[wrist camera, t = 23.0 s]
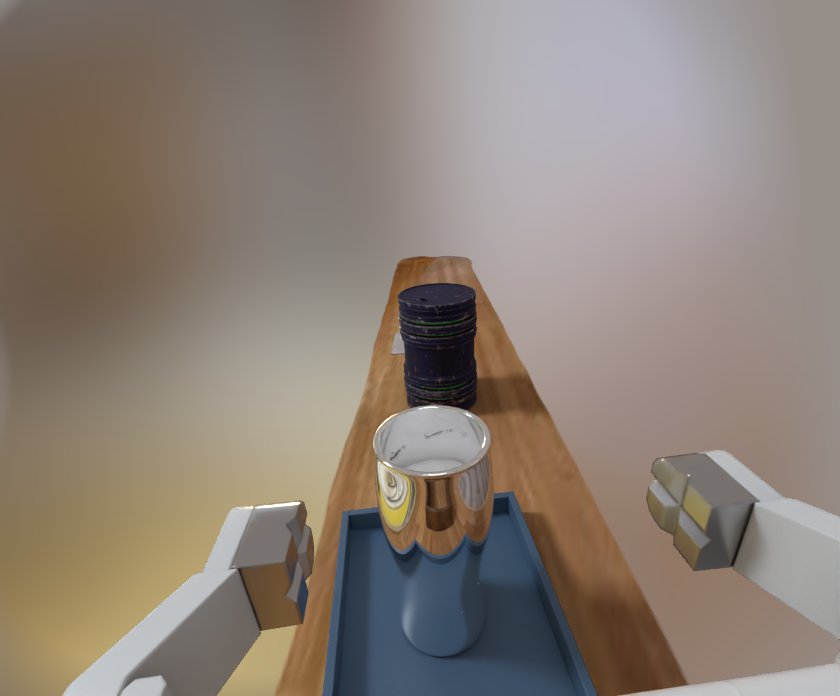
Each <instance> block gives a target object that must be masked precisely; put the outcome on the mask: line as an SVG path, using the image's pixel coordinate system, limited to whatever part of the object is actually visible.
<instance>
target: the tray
mask: <svg viewBox="0 0 840 696" xmlns="http://www.w3.org/2000/svg"><path fill="white" fill-rule="evenodd" d="M479 582H480V588H481V592H482V595H483V599H484V603H485V610H486V619H485V624H484V627H483V630H482V633H481V635H480V636H479V638H478V639H477V641H476V642H475V643H474V644H473V645H472V646H471V647H470V648H468V649H467V650H466V651H464V652H462V653H460V654H457V655H454V656H449V657H437V656H432V655H429V654H426V653H424V652H422V651H420V650H419V649H417V648H416V647H415V646H414V645H413V644H412V643H411V642H410V641H409V640H408V639H407V637H406V636H405V634H404V632H403V630H402V627H401V624H400V619H399V603H400V596H401V588H402V587H401V580H400V576H399V573H398V571H397V568H396V565H395V563H394V560H393V558H392V555H391V553H390V550H389V547H388V545H387V542H386V539H385V535H384V532H383V529H382V526H381V521H380V516H379V510H378V507H375V508H367V509H358V510H350V511H343V512H342V521H341V530H340V539H339V548H338V557H337V566H336V576H335V585H334V594H333V603H332V612H331V621H330V630H329V640H328V649H327V658H326V667H325V676H324V685H323V694H322V696H598V695H597V692H596V690H595V688H594V685H593V683H592V680H591V678H590V676H589V673H588V671H587V668H586V666H585V664H584V661H583V659H582V656H581V654H580V651H579V649H578V647H577V644H576V642H575V639H574V637H573V635H572V632H571V630H570V627H569V625H568V623H567V620H566V618H565V615H564V613H563V611H562V608H561V606H560V603H559V601H558V599H557V596H556V594H555V591H554V589H553V586H552V584H551V582H550V579H549V577H548V574H547V572H546V570H545V567H544V565H543V562H542V560H541V558H540V555H539V553H538V550H537V548H536V546H535V543H534V541H533V538H532V536H531V534H530V531H529V529H528V526H527V524H526V522H525V519H524V517H523V514H522V512H521V509H520V507H519V505H518V502H517V500H516V497H515V495H514V493H513V492H507V493H506V492H505V493H496V494H494V504H493V519H492V524H491V530H490V536H489V540H488V544H487V548H486V552H485V556H484V560H483V564H482V568H481V573H480V581H479Z"/></svg>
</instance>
